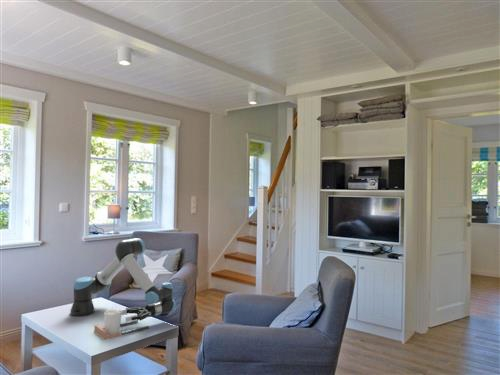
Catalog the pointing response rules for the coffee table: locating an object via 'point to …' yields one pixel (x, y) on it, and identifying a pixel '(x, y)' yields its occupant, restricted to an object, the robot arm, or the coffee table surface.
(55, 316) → the coffee table surface
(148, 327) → the guide rails
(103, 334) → the orange u-shaped bracket
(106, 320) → the candle holder
